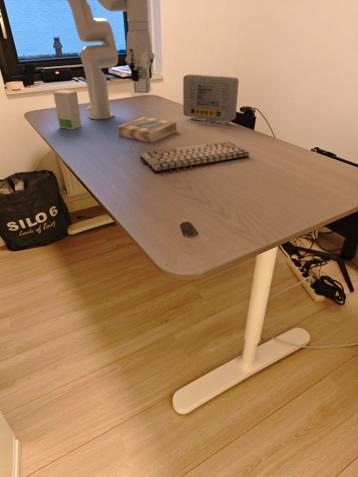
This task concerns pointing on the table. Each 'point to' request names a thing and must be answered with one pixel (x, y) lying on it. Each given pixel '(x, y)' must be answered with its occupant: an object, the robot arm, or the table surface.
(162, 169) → the mechanical keyboard
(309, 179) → the table surface
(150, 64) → the robot arm
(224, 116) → the network device
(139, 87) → the syrup box
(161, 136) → the birch platform
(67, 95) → the skincare box
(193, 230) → the block
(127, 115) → the table surface
